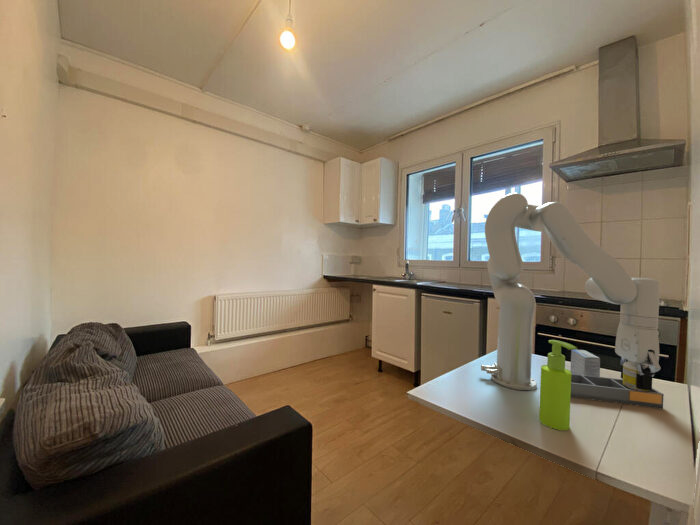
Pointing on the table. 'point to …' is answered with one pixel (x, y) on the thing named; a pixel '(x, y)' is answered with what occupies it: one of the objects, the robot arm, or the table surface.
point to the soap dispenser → (555, 389)
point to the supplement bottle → (631, 375)
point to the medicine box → (584, 363)
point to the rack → (613, 391)
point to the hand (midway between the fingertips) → (635, 383)
